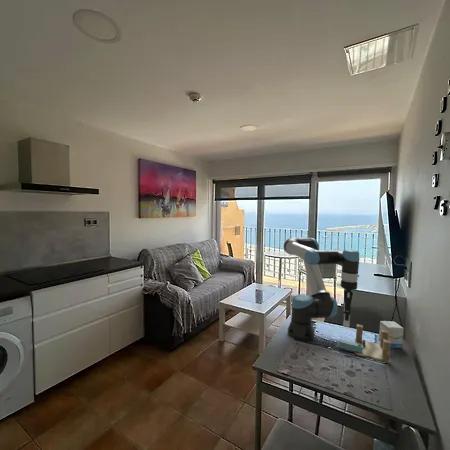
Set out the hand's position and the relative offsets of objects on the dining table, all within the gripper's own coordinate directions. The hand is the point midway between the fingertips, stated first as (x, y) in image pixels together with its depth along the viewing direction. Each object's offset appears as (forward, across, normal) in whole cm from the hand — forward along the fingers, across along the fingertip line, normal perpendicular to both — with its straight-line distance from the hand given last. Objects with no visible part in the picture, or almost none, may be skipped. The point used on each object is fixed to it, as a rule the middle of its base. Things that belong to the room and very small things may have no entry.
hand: (346, 320), depth 130 cm
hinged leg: (+17, +6, -3) cm, 19 cm away
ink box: (+19, +26, -24) cm, 40 cm away
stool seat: (+19, +12, -14) cm, 26 cm away
